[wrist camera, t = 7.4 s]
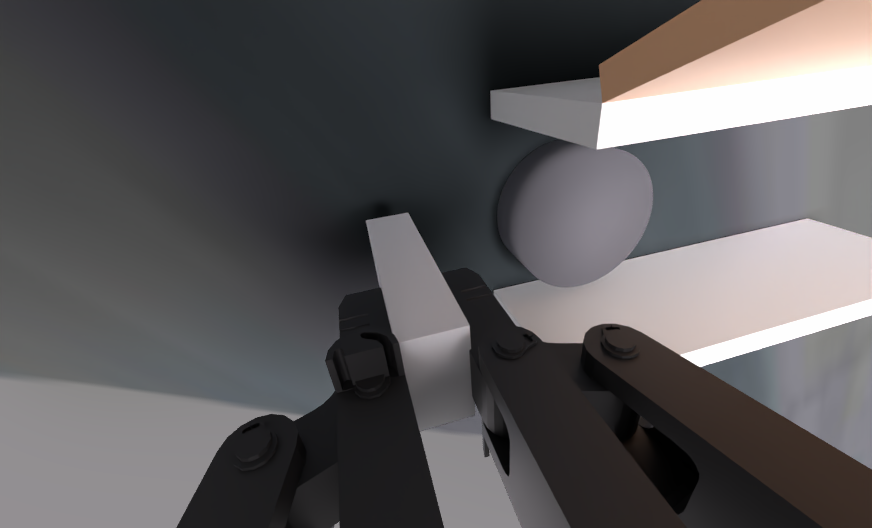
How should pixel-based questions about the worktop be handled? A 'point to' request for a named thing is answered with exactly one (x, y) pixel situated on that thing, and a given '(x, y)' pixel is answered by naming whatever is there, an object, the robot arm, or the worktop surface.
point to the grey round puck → (574, 211)
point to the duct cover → (741, 46)
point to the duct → (708, 261)
